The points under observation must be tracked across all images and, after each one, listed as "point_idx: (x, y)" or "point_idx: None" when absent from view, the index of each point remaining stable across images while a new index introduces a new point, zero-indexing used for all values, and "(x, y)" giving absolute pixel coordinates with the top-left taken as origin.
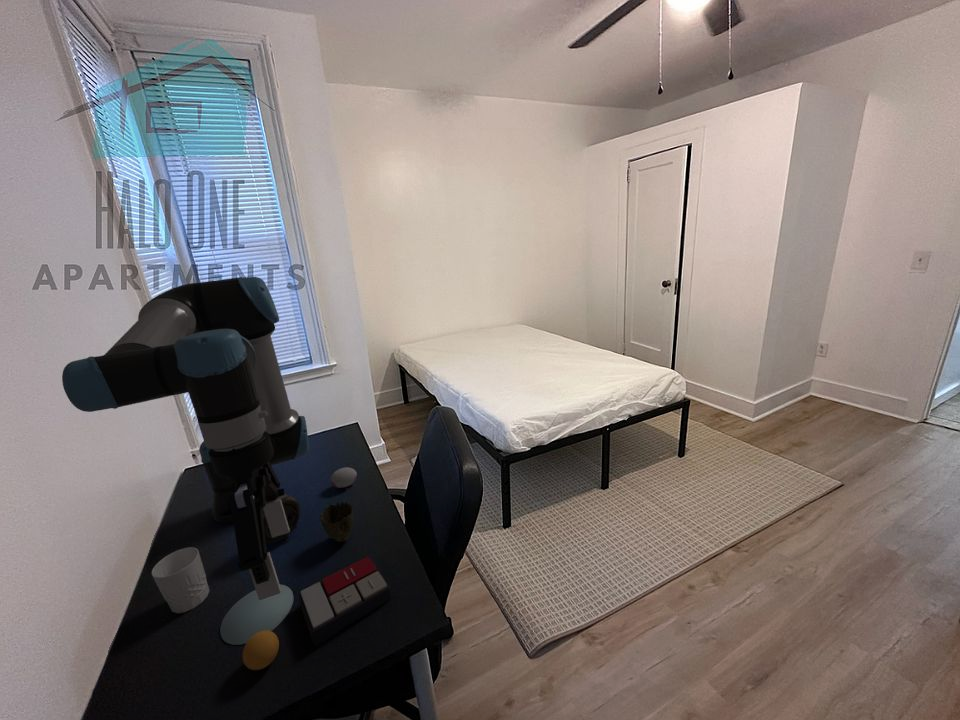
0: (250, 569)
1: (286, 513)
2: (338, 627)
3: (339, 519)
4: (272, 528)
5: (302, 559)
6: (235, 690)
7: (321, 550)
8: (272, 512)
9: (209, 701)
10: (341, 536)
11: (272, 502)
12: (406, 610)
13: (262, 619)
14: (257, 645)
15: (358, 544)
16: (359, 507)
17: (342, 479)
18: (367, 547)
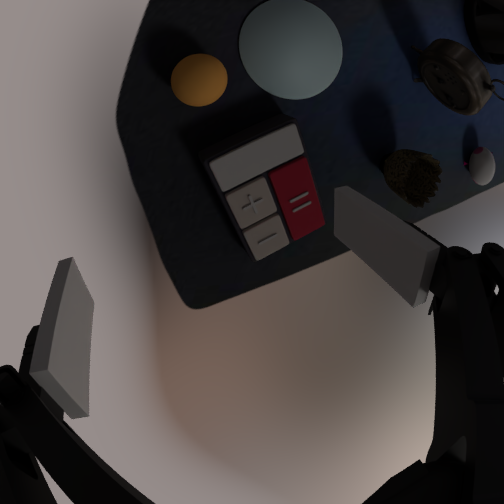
0: (38, 347)
1: (454, 95)
2: (214, 188)
3: (416, 168)
4: (354, 209)
5: (373, 103)
6: (159, 51)
7: (378, 132)
8: (392, 252)
9: (154, 20)
10: (384, 173)
11: (419, 285)
12: (219, 273)
13: (276, 56)
14: (189, 83)
15: (365, 189)
16: None
17: (479, 167)
18: None
